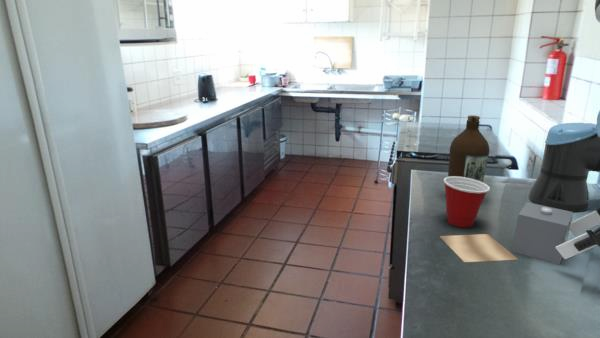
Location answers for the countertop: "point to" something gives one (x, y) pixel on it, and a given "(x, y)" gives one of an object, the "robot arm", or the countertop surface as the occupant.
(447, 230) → the countertop surface
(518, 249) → the grey knobbed cube
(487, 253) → the oak board
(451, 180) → the plastic cup
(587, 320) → the countertop surface
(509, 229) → the countertop surface
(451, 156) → the brown glass bottle shape
